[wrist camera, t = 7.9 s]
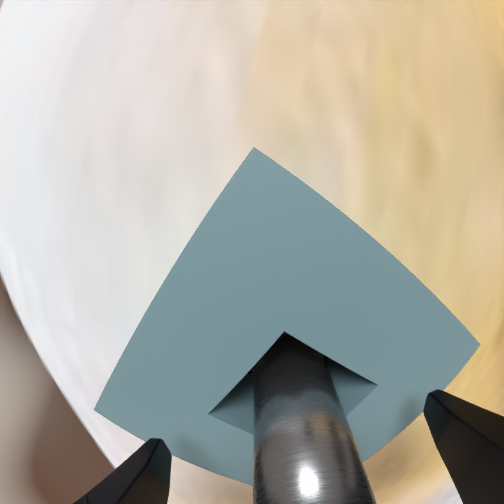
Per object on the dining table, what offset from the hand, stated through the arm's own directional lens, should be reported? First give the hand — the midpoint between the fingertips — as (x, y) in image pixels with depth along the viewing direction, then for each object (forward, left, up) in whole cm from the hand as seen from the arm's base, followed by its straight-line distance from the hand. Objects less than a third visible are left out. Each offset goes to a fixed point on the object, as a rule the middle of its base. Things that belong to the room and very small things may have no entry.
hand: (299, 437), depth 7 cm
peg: (0, 0, -6) cm, 6 cm away
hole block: (0, 0, -6) cm, 6 cm away
